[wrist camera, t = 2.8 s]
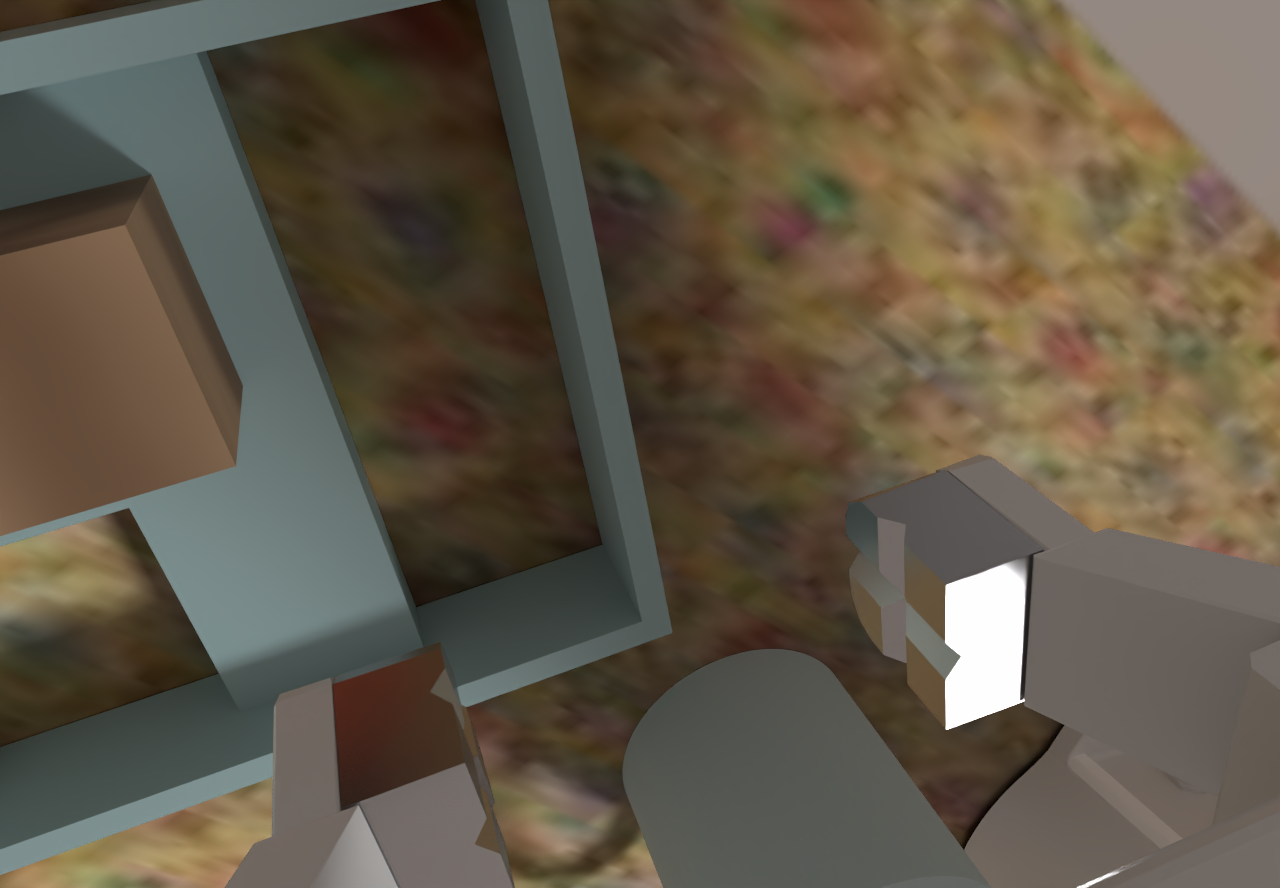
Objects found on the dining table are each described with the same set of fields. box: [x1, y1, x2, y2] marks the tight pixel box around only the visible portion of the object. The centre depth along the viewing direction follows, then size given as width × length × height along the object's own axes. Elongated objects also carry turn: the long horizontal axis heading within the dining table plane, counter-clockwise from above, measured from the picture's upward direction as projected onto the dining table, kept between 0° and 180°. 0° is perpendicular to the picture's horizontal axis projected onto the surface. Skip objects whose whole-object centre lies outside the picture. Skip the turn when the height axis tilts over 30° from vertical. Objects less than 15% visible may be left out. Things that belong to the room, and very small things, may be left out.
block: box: [0, 175, 243, 536], centre depth 19 cm, size 5×5×4 cm
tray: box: [0, 0, 673, 875], centre depth 22 cm, size 26×18×4 cm
